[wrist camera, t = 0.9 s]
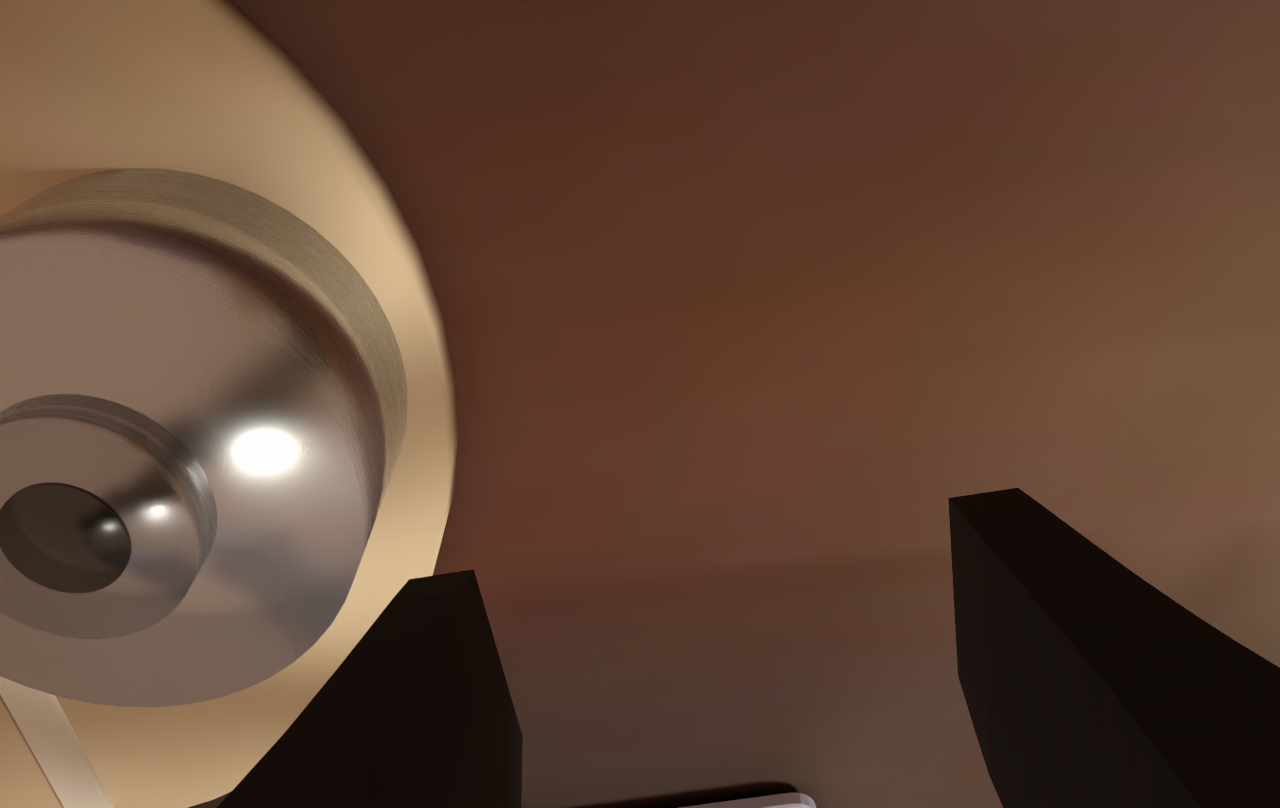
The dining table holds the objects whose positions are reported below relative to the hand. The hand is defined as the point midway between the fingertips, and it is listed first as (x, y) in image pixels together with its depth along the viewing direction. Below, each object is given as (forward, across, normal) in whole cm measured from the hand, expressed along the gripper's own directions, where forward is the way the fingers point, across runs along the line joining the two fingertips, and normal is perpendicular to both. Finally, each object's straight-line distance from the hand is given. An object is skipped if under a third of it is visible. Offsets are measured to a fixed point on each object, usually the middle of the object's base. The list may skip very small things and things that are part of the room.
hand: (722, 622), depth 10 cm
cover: (+8, +8, 0) cm, 11 cm away
